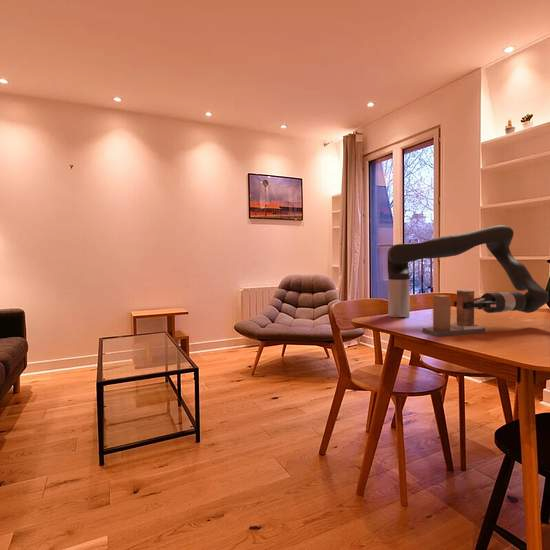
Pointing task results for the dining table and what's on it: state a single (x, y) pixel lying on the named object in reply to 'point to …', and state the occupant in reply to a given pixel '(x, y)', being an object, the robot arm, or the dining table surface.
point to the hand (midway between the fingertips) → (458, 304)
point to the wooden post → (463, 314)
